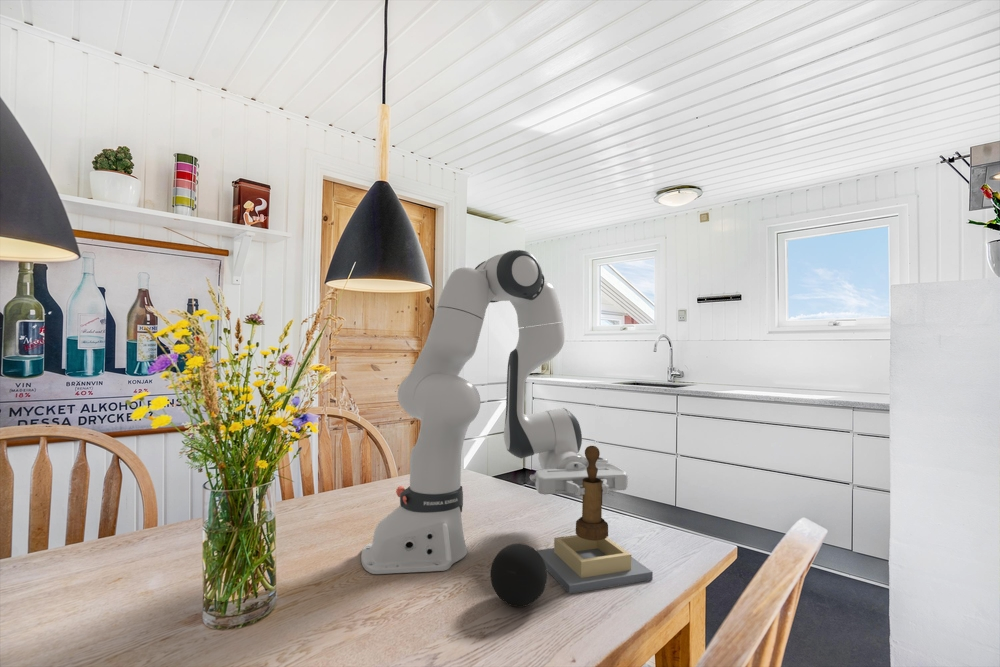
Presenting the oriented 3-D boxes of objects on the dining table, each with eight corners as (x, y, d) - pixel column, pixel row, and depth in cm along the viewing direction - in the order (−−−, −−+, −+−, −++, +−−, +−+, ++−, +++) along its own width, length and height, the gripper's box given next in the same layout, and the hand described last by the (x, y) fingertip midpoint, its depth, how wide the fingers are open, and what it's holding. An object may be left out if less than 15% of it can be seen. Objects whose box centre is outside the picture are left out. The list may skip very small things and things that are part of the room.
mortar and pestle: (599, 543, 96) (599, 451, 96) (569, 535, 100) (570, 446, 100) (613, 533, 101) (613, 445, 102) (585, 525, 105) (585, 441, 105)
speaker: (534, 585, 93) (534, 532, 93) (555, 613, 83) (556, 554, 84) (483, 593, 90) (484, 537, 90) (499, 622, 80) (500, 561, 81)
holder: (569, 593, 90) (569, 569, 90) (535, 557, 105) (535, 536, 105) (652, 579, 96) (652, 556, 96) (608, 547, 111) (608, 527, 111)
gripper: (527, 461, 112) (544, 478, 98) (612, 457, 115) (639, 473, 102) (527, 489, 111) (544, 509, 98) (611, 484, 115) (639, 503, 102)
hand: (593, 491), depth 100 cm, fingers closed on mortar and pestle, 4 cm apart
